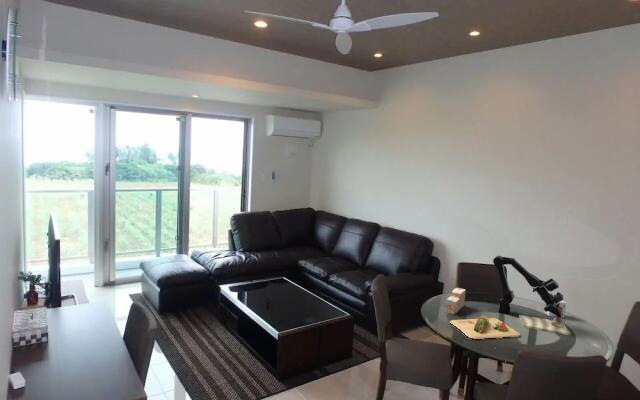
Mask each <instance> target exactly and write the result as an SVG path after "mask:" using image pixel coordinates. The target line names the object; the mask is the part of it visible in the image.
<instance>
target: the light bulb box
mask: <svg viewBox="0 0 640 400" xmlns="http://www.w3.org/2000/svg"><path fill="white" fill-rule="evenodd" d="M558 303H560V306H559V307H562V308H563V311H562V314H563V316H562V317H561V318H565V317H566V312H567V311H566V309H567V302H566V301H565V300H564V299H563V300H562V301H560V302H558ZM544 313H545V314H546V315H547V316H549V317H556V315H555V314H553V313H551V312H549V311H547V312H545V311H544Z"/></svg>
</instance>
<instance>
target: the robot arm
mask: <svg viewBox="0 0 640 400" xmlns="http://www.w3.org/2000/svg"><path fill="white" fill-rule="evenodd" d="M492 263H493V265H494V267H495V268H496V270H497V274H498V276H499V280H500V285H501V288H502V297H501V298H500V300H498V302H499V303H498V308H497V310H498V313H500V314H507V315H510V313H511V303H512V302H513V300H514V299H515V294H514V290H511V288H510V284H509V282H508V278H507V274H506V271H505V265H510V266H511V267H513V268H514V269H515V270H516V271H517V272H518V273H519V274H521V275H522V277H524V279H525V280H526V282H527V283H528V285H529V286H530V287H532V293H535V292H536V293H537V295H538V296H540V299H541V301H543V302H544V303H545V306H544V307H543V310H544V313H545V312H547V311H549V312H551V313H553V314H555V315H556V316H558V317H559V318H561V319H562V317H561V315H560V313H559V311H558V307H559V306H560V303H558V302H560V301H562V300H564V295H563V294H562V293H561V292H560V291H559V292H556V294H552V293H550V292H553V291H555V290H557V289H559V288H560V285H559V284H558V283H557V281H556V280H554V279H553V278H549V279H547V280H545V281H544V280H543V279H540V278H539V277H538V276H536V275H534V274H532V273H531V272H529V271H528V270H527V269H526V267H524V266H523V265H522V264H520V263H519V262H518V261H517V260H516V258H514V257H506V256H502V255H497V256H495V257H494V258H493V260H492ZM556 316H555V317H556ZM562 316H563V314H562Z"/></svg>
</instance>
